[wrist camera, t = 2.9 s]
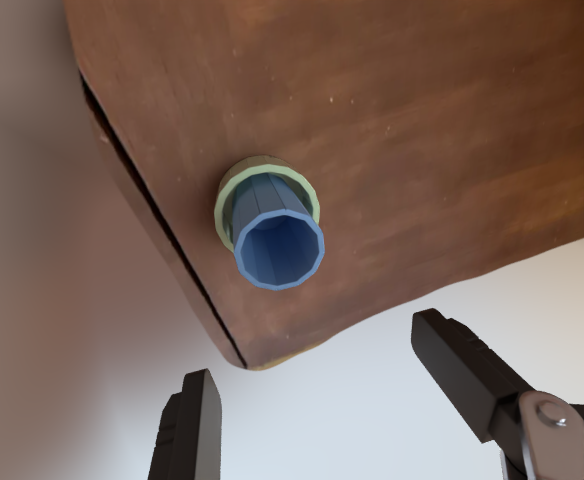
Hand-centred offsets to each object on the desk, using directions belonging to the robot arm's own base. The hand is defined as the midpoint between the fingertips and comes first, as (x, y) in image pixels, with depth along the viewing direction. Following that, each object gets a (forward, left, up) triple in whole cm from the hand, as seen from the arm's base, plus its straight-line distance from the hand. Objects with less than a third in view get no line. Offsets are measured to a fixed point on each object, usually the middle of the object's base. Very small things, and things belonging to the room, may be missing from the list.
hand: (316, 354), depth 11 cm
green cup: (0, 0, -19) cm, 19 cm away
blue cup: (0, 0, -18) cm, 18 cm away
